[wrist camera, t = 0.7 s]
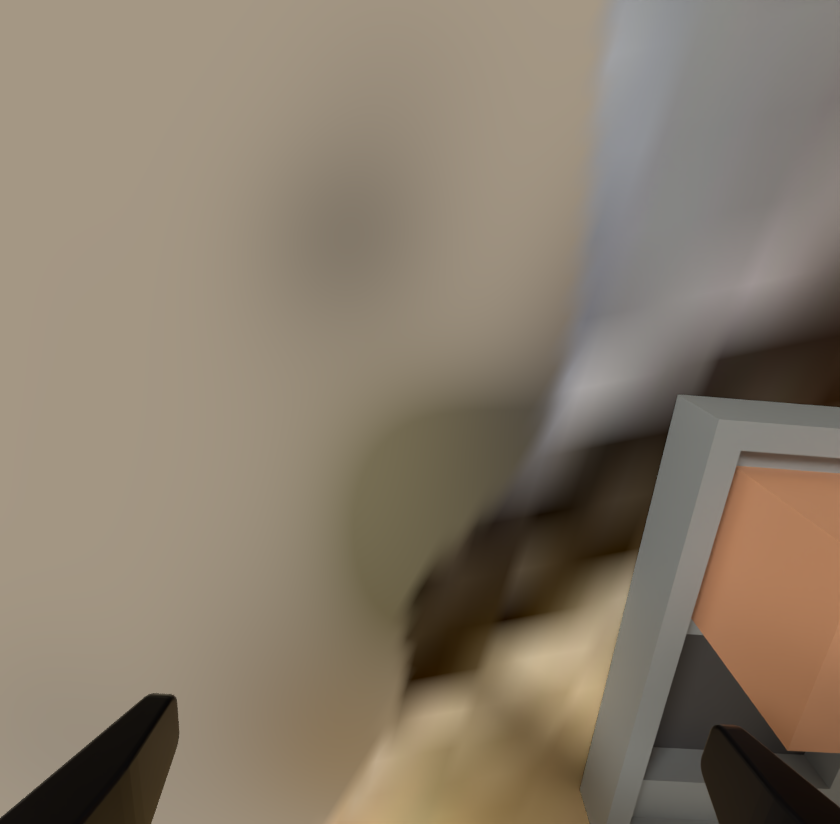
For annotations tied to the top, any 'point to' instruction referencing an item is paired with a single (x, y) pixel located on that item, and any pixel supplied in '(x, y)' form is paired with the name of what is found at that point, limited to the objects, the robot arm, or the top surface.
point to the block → (779, 600)
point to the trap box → (675, 630)
